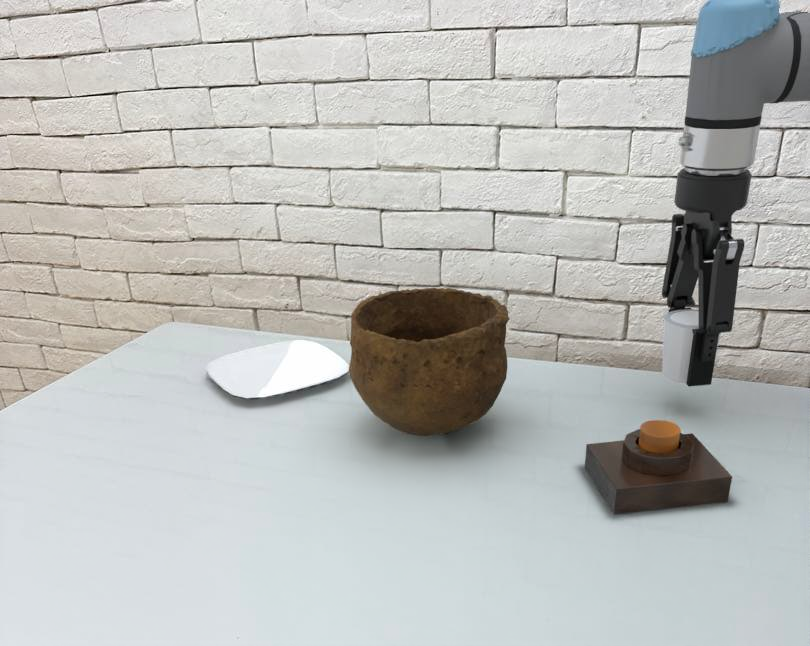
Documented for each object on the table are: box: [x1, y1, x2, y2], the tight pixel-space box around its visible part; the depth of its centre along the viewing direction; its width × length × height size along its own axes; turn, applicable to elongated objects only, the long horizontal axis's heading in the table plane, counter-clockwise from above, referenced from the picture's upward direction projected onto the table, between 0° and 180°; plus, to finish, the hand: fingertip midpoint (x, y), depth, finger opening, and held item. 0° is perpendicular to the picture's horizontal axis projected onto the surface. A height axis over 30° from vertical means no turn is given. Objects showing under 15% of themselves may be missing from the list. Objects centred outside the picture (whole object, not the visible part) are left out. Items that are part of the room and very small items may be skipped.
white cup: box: [661, 308, 722, 384], centre depth 101 cm, size 7×7×7 cm
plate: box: [205, 339, 350, 401], centre depth 121 cm, size 18×18×2 cm
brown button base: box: [584, 428, 733, 515], centre depth 90 cm, size 12×10×5 cm
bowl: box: [348, 287, 510, 437], centre depth 101 cm, size 19×19×15 cm
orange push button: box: [638, 419, 682, 453], centre depth 88 cm, size 4×4×2 cm
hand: (685, 371), depth 103 cm, fingers closed on white cup, 7 cm apart
